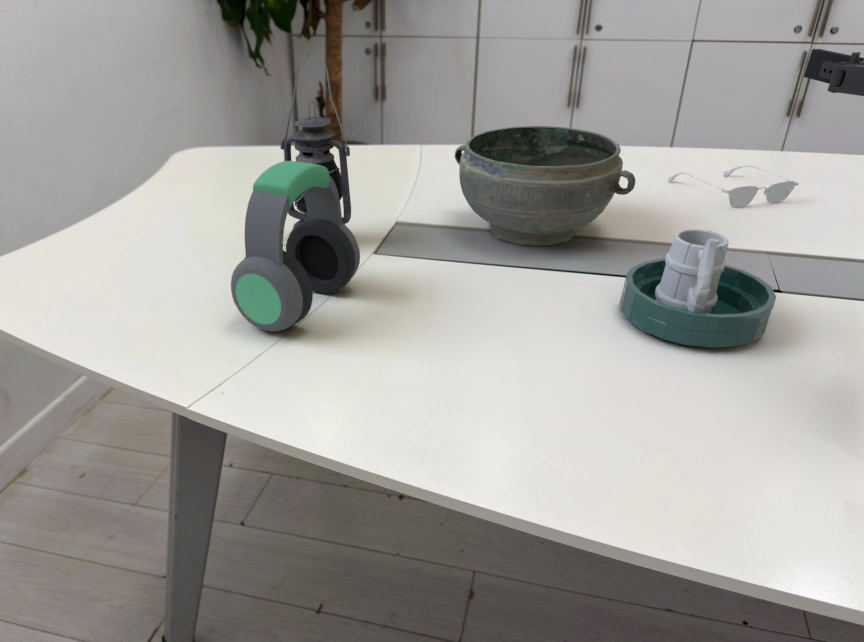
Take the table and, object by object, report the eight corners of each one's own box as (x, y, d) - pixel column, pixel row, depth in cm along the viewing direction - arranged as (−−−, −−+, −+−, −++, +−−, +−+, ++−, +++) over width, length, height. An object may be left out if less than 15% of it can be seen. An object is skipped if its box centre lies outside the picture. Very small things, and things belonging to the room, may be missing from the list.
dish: (771, 308, 92) (783, 274, 89) (752, 367, 80) (765, 330, 77) (638, 280, 100) (645, 248, 97) (602, 330, 88) (609, 295, 85)
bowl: (412, 233, 118) (414, 145, 110) (488, 194, 135) (495, 115, 126) (586, 279, 101) (605, 180, 92) (650, 228, 117) (670, 139, 109)
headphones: (296, 346, 87) (284, 193, 76) (229, 327, 91) (208, 181, 80) (366, 288, 100) (364, 151, 89) (304, 274, 105) (295, 143, 94)
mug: (708, 296, 93) (733, 212, 87) (724, 338, 84) (753, 247, 77) (649, 291, 95) (669, 209, 88) (658, 332, 86) (681, 243, 79)
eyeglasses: (722, 209, 124) (728, 188, 122) (663, 181, 138) (667, 161, 136) (794, 201, 126) (801, 180, 124) (728, 174, 141) (733, 154, 139)
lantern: (273, 248, 114) (254, 53, 98) (303, 227, 122) (290, 44, 105) (338, 259, 110) (330, 57, 93) (365, 236, 118) (362, 46, 101)
